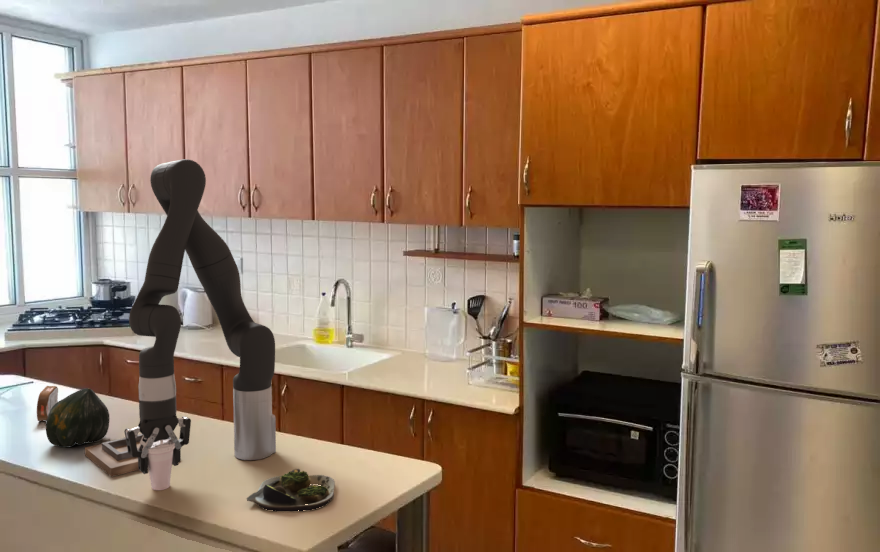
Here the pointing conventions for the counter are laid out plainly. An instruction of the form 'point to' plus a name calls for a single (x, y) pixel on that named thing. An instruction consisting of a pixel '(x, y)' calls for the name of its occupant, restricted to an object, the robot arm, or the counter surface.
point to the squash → (77, 419)
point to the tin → (46, 402)
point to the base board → (114, 456)
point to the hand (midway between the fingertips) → (159, 468)
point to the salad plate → (294, 492)
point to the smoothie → (160, 464)
